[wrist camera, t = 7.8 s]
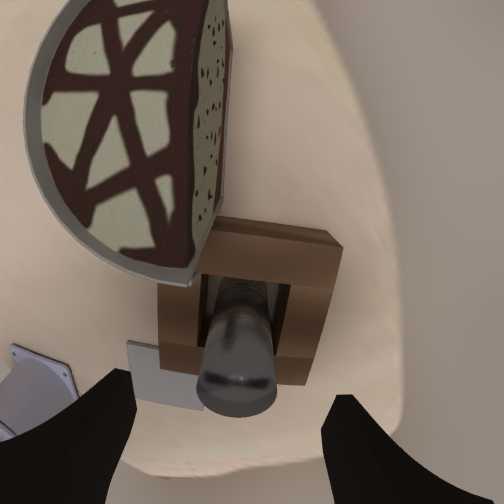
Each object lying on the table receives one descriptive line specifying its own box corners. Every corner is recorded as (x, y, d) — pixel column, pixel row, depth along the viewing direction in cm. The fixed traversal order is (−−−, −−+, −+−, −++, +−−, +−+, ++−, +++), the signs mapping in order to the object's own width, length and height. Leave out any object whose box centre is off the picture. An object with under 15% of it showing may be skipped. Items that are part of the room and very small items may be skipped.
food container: (138, 34, 13) (55, -41, 4) (235, 28, 14) (219, -82, 4) (125, 221, 17) (21, 283, 8) (222, 224, 17) (187, 305, 8)
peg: (262, 314, 19) (268, 420, 10) (216, 307, 19) (194, 411, 10) (270, 272, 18) (285, 368, 10) (222, 265, 18) (198, 357, 9)
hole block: (297, 353, 20) (305, 385, 17) (172, 338, 20) (159, 368, 16) (326, 230, 17) (343, 247, 14) (176, 211, 17) (159, 223, 14)
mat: (203, 407, 22) (202, 410, 21) (135, 394, 22) (134, 397, 21) (206, 354, 20) (205, 357, 20) (128, 340, 20) (126, 343, 19)
